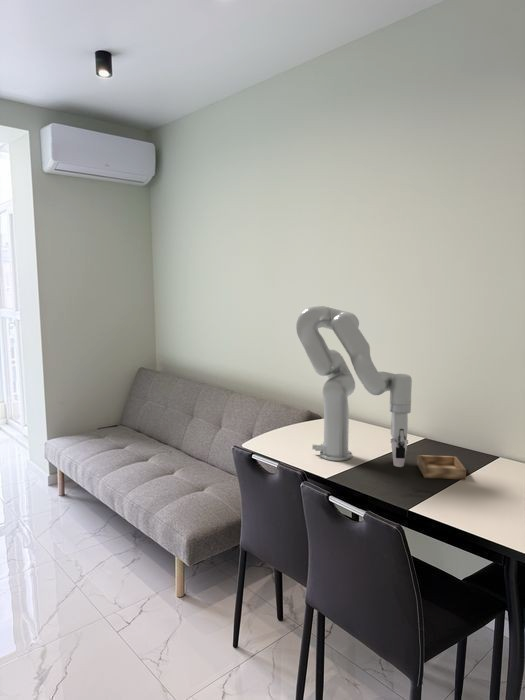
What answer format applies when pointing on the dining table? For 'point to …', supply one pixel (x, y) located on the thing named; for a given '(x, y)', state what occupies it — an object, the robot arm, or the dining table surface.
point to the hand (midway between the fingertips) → (398, 454)
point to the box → (441, 467)
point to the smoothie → (396, 461)
